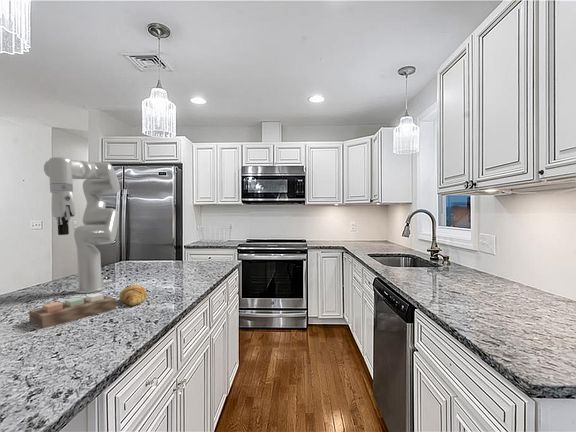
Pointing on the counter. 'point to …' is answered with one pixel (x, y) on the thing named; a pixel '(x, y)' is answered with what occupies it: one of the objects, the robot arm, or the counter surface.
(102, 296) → the cream cube
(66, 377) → the counter surface
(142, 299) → the croissant
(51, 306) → the terracotta key
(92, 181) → the robot arm
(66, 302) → the sage key
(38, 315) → the wooden compartment tray
